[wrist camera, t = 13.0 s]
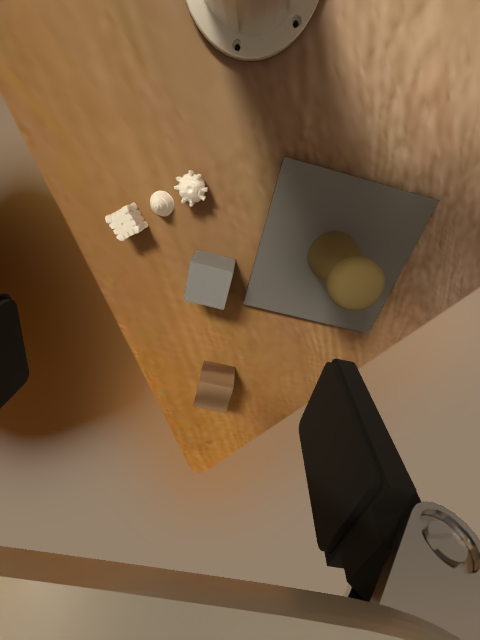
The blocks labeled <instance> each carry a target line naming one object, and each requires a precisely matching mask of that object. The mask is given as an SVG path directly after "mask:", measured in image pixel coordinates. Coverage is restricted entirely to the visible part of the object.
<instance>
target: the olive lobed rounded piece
mask: <svg viewBox="0 0 480 640" xmlns="http://www.w3.org/2000/svg"><path fill="white" fill-rule="evenodd" d="M307 258H308V265H309V267H310V269H311V271H312V272H313V273H314V274H315V275H316V276H317V277H319V278H320V279H321V280H322V281H323V282H324V283H325V284H326V285H327V291H328V294H329V296H330V298H331V300H332V301H333V302H334V303H335V304H336V305H337V306H339V307H341V308H343V309H345V310H350V311H356V310H363V309H365V308H368V307H370V306H371V305H373V304H374V303H375V302H376V301H377V300H378V299H379V298H380V296H381V295H382V292H383V290H384V287H385V278H384V275H383V272H382V269H381V268H380V267H379V266H378V264H377V263H375V262H374V261H372V260H370V259H368V258H365V257H363V255H362V253H361V251H360V250H359V248H358V246H357V244H356V242H355V241H354V240H353V238H352V237H351V236H350V235H348V234H346V233H344V232H341V231H331V232H326V233H324V234H322V235H320V236H319V237H318V238H317V239H316V240H315V241H314V242H313V243H312V245H311V247H310V248H309V252H308V256H307Z"/></svg>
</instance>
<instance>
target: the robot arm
mask: <svg viewBox="0 0 480 640" xmlns="http://www.w3.org/2000/svg"><path fill="white" fill-rule="evenodd" d="M185 1H186V4H187V7H188V9H189V11H190V14H191V16H192V18H193V20H194V22H195V24H196V26H197V27H198V28H199V30H200V31H201V33H202V34H203V36H204V37H205V38H206V39H207V40H208V41H209V42H210V43H211V44H212V45H213V46H214V47H215V48H216V49H217V50H219V51H220V52H222V53H224V54H225V55H227V56H229V57H232V58H235V59H237V60H243V61H258V60H264V59H267V58H270V57H272V56H275V55H277V54H278V53H280V52H281V51H283V50H284V49H286V48H287V47H288V46H289V45H290V44H292V43H293V42H294V41H295V40H296V39H297V38H298V37H299V35H300V34H301V32H302V31H303V30H304V28H305V27H306V25H307V24H308V22H309V20H310V19H311V17H312V15H313V13H314V11H315V9H316V6H317V4H318V1H319V0H185ZM294 22H297V23H298V27H297V28H294V27H293V23H294ZM236 45H239V46H240V50H239V51H236V50H235V46H236ZM28 376H29V369H28V364H27V359H26V353H25V347H24V342H23V336H22V331H21V326H20V320H19V315H18V309H17V305H16V303H15V301H13V300H12V299H11V297H10V296H9V295H7V294H5V293H0V408H1V407H2V406H3V405H4V404H5V403H6V402H7V401H8V400H9V399H10V398H11V397H12V396H13V395H14V394H15V393H16V392H17V391H18V390H19V389H20V388H21V387H22V386H23V385H24V384H25V382H26V381H27V379H28ZM299 435H300V441H301V447H302V453H303V459H304V465H305V471H306V477H307V483H308V489H309V495H310V501H311V507H312V513H313V519H314V525H315V531H316V537H317V543H318V546H319V548H320V550H321V551H325V557H326V563H327V566H331V567H337V568H344V570H345V575H346V579H347V582H348V583H349V584H348V586H347V589H346V591H345V593H344V595H343V596H338V595H332V594H326V593H320V592H313V591H308V590H302V589H296V588H289V587H284V586H277V585H271V584H265V583H258V582H252V581H245V580H237V579H231V578H224V577H217V576H210V575H203V574H195V573H189V572H182V571H175V570H168V569H161V568H154V567H147V566H141V565H134V564H126V563H119V562H112V561H105V560H98V559H91V558H83V557H76V556H69V555H62V554H55V553H48V552H40V551H33V550H26V549H19V548H11V547H4V546H0V640H480V540H479V539H478V537H477V535H476V534H475V533H474V532H473V531H472V529H471V528H470V527H469V526H468V525H467V524H466V523H465V522H464V521H463V520H462V519H461V518H459V517H458V516H457V515H456V514H455V513H453V512H452V511H450V510H448V509H447V508H445V507H444V506H441V505H438V504H436V503H433V502H421V500H420V498H419V496H418V494H417V492H416V488H415V486H414V484H413V482H412V480H411V478H410V476H409V474H408V472H407V470H406V468H405V466H404V464H403V462H402V460H401V458H400V455H399V453H398V451H397V449H396V447H395V445H394V443H393V441H392V439H391V437H390V435H389V433H388V431H387V429H386V427H385V425H384V423H383V420H382V418H381V416H380V414H379V412H378V410H377V408H376V406H375V404H374V402H373V400H372V398H371V396H370V394H369V391H368V390H367V387H366V385H365V383H364V381H363V379H362V377H361V375H360V373H359V371H358V369H357V367H356V365H355V363H354V362H350V361H345V360H340V359H334V360H333V361H332V362H327V363H326V365H325V366H324V369H323V371H322V373H321V375H320V378H319V380H318V382H317V384H316V387H315V389H314V391H313V393H312V395H311V398H310V400H309V402H308V404H307V407H306V409H305V411H304V413H303V416H302V418H301V420H300V424H299Z"/></svg>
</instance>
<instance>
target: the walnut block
mask: <svg viewBox="0 0 480 640" xmlns="http://www.w3.org/2000/svg"><path fill="white" fill-rule="evenodd" d="M234 377H235V367H232V366H227V365H222V364H218V363H213V362H209V361H204V363H203V367H202V371H201V376H200V380H199V384H198V388H197V393H196V397H195V401H194V407H199V408H203V409H208V410H213V411H218V412H223V413H226V411H227V408H228V405H229V402H230V398H231V395H232V392H233V389H234Z"/></svg>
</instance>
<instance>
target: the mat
mask: <svg viewBox="0 0 480 640" xmlns="http://www.w3.org/2000/svg"><path fill="white" fill-rule="evenodd" d="M438 202H439V200H436V199H433V198H429V197H426V196H422V195H419V194H415V193H411V192H408V191H404V190H401V189H397V188H394V187H390V186H387V185H383V184H380V183H376V182H373V181H369V180H366V179H362V178H358V177H355V176H351V175H348V174H344V173H341V172H337V171H334V170H330V169H327V168H323V167H320V166H316V165H312V164H309V163H305V162H302V161H298V160H295V159H291V158H288V157H284V158H283V161H282V165H281V169H280V172H279V176H278V180H277V183H276V187H275V190H274V194H273V198H272V201H271V205H270V208H269V212H268V216H267V219H266V223H265V226H264V230H263V234H262V237H261V241H260V244H259V248H258V252H257V255H256V259H255V262H254V266H253V270H252V273H251V277H250V280H249V284H248V288H247V291H246V295H245V298H244V304H245V305H249V306H253V307H257V308H262V309H266V310H270V311H274V312H279V313H283V314H287V315H291V316H296V317H300V318H304V319H308V320H312V321H317V322H321V323H325V324H329V325H334V326H338V327H342V328H346V329H351V330H355V331H359V332H363V333H369V331H370V329H371V327H372V325H373V323H374V321H375V320H376V318H377V316H378V314H379V312H380V310H381V308H382V306H383V305H384V303H385V301H386V299H387V297H388V295H389V293H390V292H391V290H392V288H393V286H394V284H395V282H396V280H397V279H398V277H399V275H400V273H401V271H402V269H403V267H404V265H405V264H406V262H407V260H408V258H409V256H410V254H411V252H412V251H413V249H414V247H415V245H416V243H417V241H418V239H419V238H420V236H421V234H422V232H423V230H424V228H425V226H426V224H427V223H428V221H429V219H430V217H431V215H432V213H433V211H434V210H435V208H436V206H437V204H438ZM331 231H341V232H344V233H346V234H348V235H350V236H351V237H352V238H353V240H354V241H355V242H356V244H357V246H358V248H359V250H360V251H361V253H362V255H363V257H365V258H368V259H370V260H372V261H374V262H375V263H377V264H378V266H379V267H380V268H381V269H382V272H383V275H384V278H385V287H384V290H383V292H382V295H381V296H380V298H379V299H378V300H377V301H376V302H375V303H374V304H373V305H371V306H370V307H368V308H365V309H363V310H356V311H350V310H345V309H343V308H341V307H339V306H337V305H336V304H335V303H334V302H333V301H332V300H331V298H330V296H329V294H328V291H327V285H326V284H325V283H324V282H323V281H322V280H321V279H320V278H319V277H317V276H316V275H315V274H314V273H313V272H312V271H311V269H310V267H309V265H308V258H307V256H308V252H309V248H310V247H311V245H312V243H313V242H314V241H315V240H316V239H317V238H318V237H319V236H320V235H322V234H324V233H326V232H331Z"/></svg>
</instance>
